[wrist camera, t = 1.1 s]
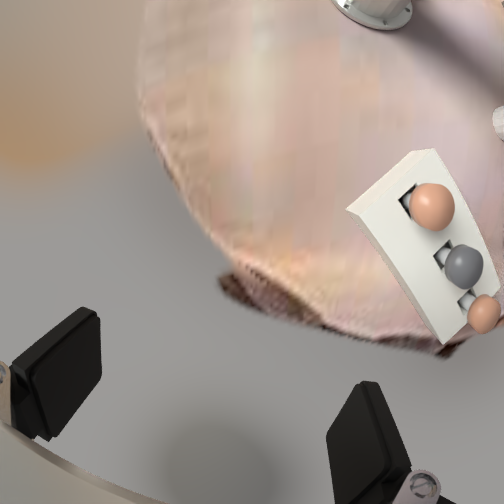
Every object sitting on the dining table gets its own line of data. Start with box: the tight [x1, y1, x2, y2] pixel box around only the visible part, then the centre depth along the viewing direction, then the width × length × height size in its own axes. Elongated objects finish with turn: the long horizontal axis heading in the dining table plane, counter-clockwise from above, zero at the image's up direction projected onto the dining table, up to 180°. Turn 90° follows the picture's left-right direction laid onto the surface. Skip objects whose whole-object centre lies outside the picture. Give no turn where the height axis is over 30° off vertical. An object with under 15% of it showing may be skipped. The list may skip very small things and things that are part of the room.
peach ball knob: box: [399, 183, 455, 231], centre depth 26 cm, size 4×4×7 cm
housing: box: [345, 148, 501, 344], centre depth 32 cm, size 12×22×6 cm, turn 42°
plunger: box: [457, 292, 501, 334], centre depth 28 cm, size 4×4×7 cm
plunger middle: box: [433, 244, 483, 290], centre depth 27 cm, size 4×4×7 cm
